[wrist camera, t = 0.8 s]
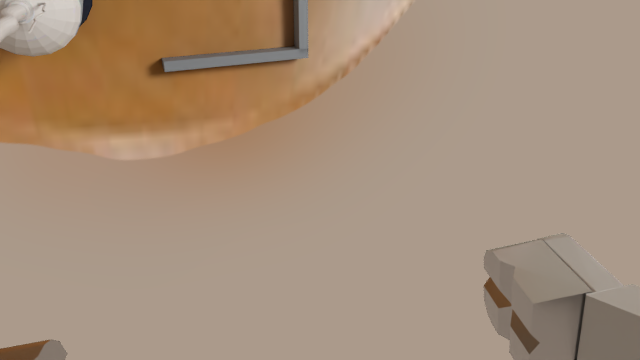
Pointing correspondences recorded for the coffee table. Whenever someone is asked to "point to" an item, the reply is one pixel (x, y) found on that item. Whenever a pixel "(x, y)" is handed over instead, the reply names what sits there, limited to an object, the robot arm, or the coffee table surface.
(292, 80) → the coffee table surface
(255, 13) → the coffee table surface
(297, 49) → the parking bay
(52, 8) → the humidifier
